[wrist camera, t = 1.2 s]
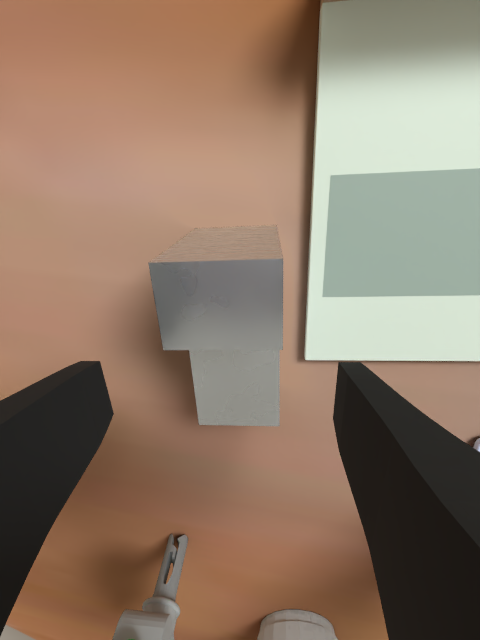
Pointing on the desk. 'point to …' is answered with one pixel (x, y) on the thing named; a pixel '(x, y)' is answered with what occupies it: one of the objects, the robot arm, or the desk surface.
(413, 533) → the robot arm
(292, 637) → the coffee cup
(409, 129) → the corner arena
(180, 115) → the desk surface
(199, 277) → the bracket
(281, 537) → the desk surface
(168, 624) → the mechanical component
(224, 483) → the desk surface
